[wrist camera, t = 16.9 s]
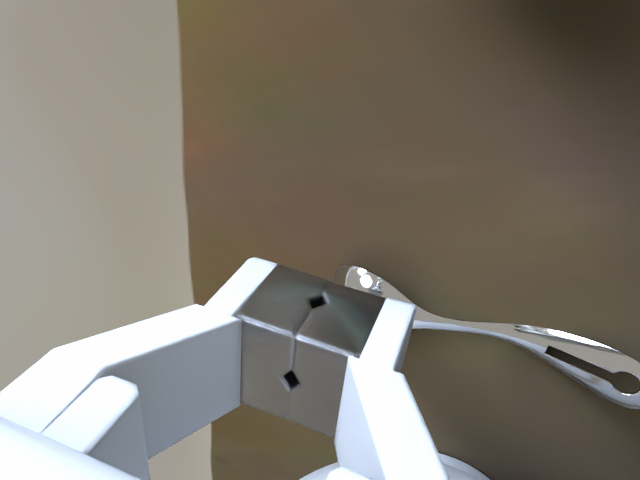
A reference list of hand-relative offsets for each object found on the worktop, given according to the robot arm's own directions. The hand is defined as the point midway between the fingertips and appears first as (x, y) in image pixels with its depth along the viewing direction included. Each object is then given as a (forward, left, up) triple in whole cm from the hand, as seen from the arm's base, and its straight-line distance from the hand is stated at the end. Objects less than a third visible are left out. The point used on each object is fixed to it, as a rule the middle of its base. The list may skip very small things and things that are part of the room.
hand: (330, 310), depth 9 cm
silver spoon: (+15, +5, -21) cm, 26 cm away
